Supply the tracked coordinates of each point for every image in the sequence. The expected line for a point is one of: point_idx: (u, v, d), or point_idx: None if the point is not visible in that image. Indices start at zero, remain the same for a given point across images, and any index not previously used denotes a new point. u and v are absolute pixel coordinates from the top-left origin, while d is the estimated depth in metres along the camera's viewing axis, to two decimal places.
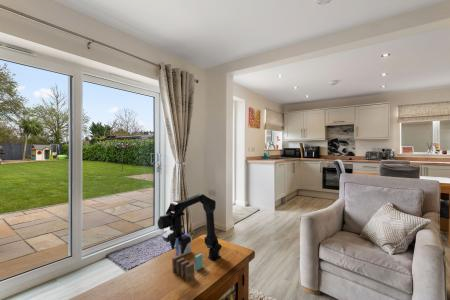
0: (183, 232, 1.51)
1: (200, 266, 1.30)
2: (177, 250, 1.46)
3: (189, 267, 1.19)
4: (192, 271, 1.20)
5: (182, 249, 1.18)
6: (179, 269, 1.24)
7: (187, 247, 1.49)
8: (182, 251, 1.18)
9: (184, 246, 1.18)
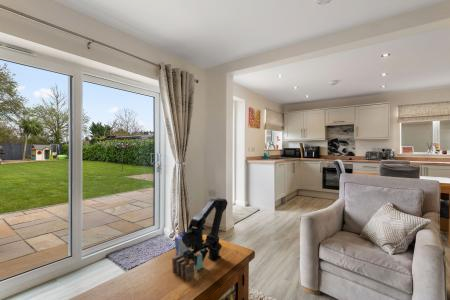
0: (183, 232, 1.51)
1: (200, 266, 1.30)
2: (177, 250, 1.46)
3: (189, 267, 1.19)
4: (192, 271, 1.20)
5: (193, 261, 1.28)
6: (179, 269, 1.24)
7: None
8: (194, 263, 1.28)
9: (194, 259, 1.27)
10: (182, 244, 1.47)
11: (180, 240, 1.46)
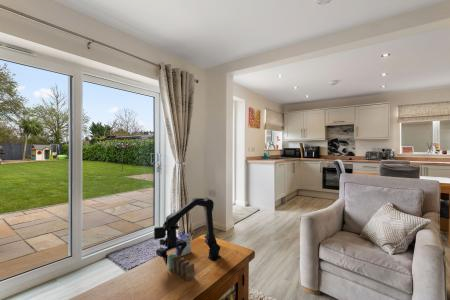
0: (183, 232, 1.51)
1: None
2: None
3: (189, 267, 1.19)
4: (192, 271, 1.20)
5: (164, 259, 1.29)
6: (179, 269, 1.24)
7: (187, 247, 1.49)
8: (165, 261, 1.29)
9: (164, 258, 1.28)
10: None
11: None
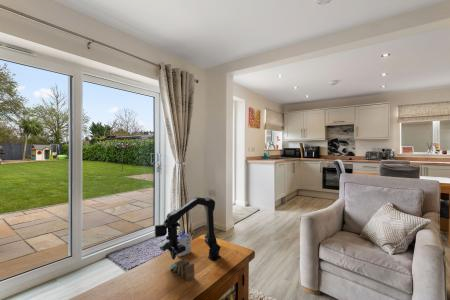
0: (183, 232, 1.52)
1: None
2: None
3: (189, 267, 1.19)
4: (192, 271, 1.20)
5: (173, 255, 1.30)
6: (180, 270, 1.24)
7: (187, 247, 1.49)
8: (173, 257, 1.31)
9: (175, 252, 1.31)
10: (182, 244, 1.47)
11: (180, 240, 1.46)
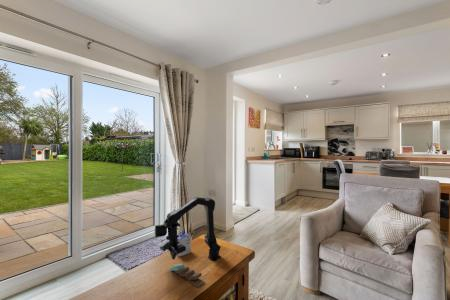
0: (183, 232, 1.52)
1: None
2: None
3: None
4: None
5: (173, 255, 1.30)
6: None
7: (187, 247, 1.49)
8: (173, 257, 1.30)
9: (175, 252, 1.31)
10: (182, 244, 1.47)
11: (180, 240, 1.46)
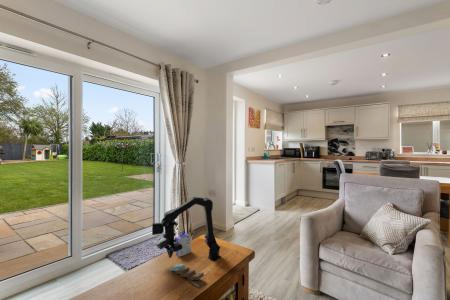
0: (183, 232, 1.52)
1: None
2: None
3: None
4: None
5: (170, 253, 1.32)
6: None
7: (187, 247, 1.49)
8: (170, 255, 1.33)
9: (172, 250, 1.33)
10: (182, 244, 1.47)
11: (180, 240, 1.46)
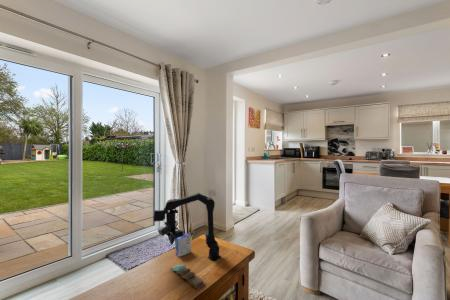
0: (183, 232, 1.51)
1: None
2: (177, 250, 1.46)
3: None
4: None
5: (172, 240, 1.36)
6: None
7: (187, 247, 1.49)
8: (172, 242, 1.37)
9: (173, 237, 1.37)
10: (182, 244, 1.47)
11: (180, 240, 1.46)
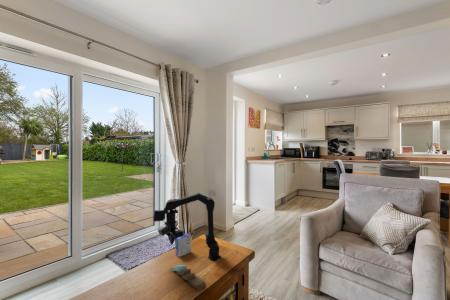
0: (183, 232, 1.51)
1: None
2: (177, 250, 1.46)
3: None
4: None
5: (172, 240, 1.36)
6: None
7: (187, 247, 1.49)
8: (172, 242, 1.37)
9: (173, 237, 1.37)
10: (182, 244, 1.47)
11: (180, 240, 1.46)
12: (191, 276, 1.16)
